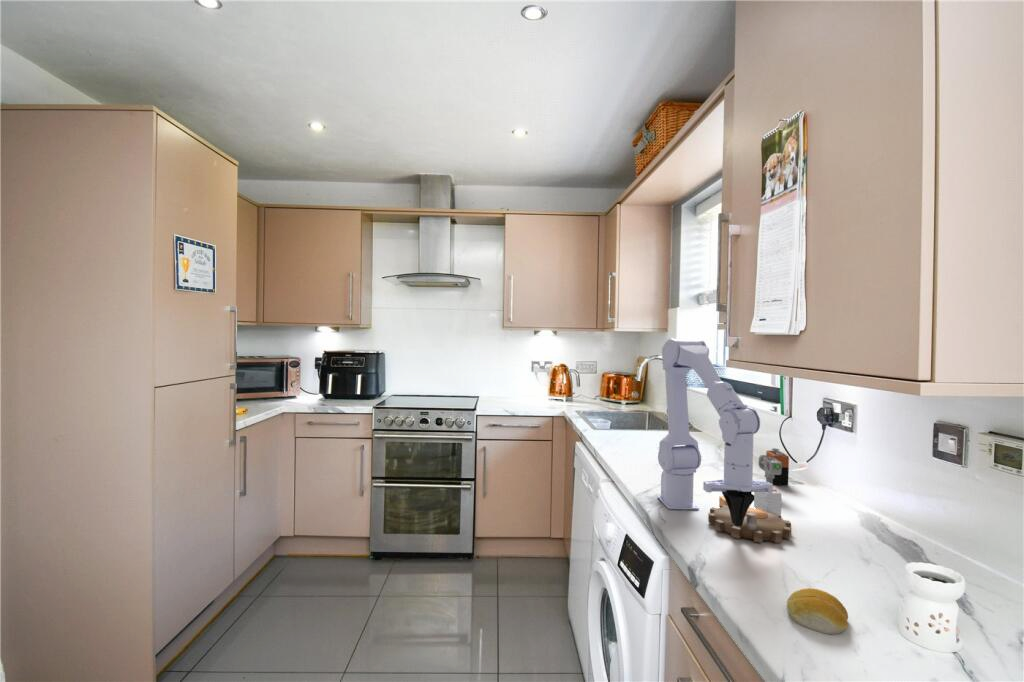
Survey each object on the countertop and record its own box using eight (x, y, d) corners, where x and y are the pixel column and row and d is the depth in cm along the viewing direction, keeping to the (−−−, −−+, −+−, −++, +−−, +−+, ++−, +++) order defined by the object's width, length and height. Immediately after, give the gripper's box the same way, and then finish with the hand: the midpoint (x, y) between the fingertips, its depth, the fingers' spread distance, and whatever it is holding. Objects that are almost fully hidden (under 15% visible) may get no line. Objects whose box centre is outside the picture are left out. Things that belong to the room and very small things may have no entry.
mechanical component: (766, 487, 142) (767, 454, 141) (782, 499, 131) (783, 463, 131) (756, 487, 142) (757, 453, 142) (771, 498, 132) (772, 463, 131)
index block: (719, 507, 124) (719, 496, 124) (726, 507, 124) (726, 496, 124) (724, 512, 121) (724, 500, 121) (732, 512, 121) (732, 500, 121)
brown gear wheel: (697, 512, 120) (697, 492, 120) (764, 512, 120) (765, 493, 120) (729, 542, 103) (730, 519, 102) (808, 542, 103) (808, 520, 103)
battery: (780, 479, 150) (780, 448, 150) (788, 486, 143) (789, 453, 143) (765, 478, 150) (765, 447, 150) (773, 485, 144) (774, 452, 144)
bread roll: (847, 614, 78) (848, 590, 77) (847, 643, 70) (847, 616, 70) (789, 597, 82) (790, 574, 82) (783, 622, 75) (783, 597, 75)
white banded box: (753, 508, 124) (754, 484, 124) (767, 508, 124) (768, 484, 124) (766, 517, 118) (766, 492, 118) (781, 517, 118) (781, 492, 118)
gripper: (713, 467, 101) (712, 531, 101) (781, 468, 101) (779, 531, 101) (699, 458, 108) (698, 518, 108) (763, 459, 108) (762, 518, 108)
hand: (736, 524), depth 105 cm, fingers closed
